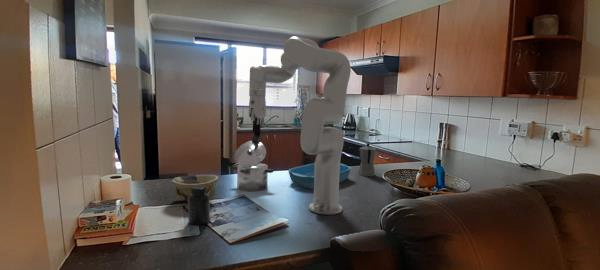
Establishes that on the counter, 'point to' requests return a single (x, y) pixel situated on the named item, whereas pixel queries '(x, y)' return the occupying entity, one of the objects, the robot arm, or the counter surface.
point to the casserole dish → (306, 174)
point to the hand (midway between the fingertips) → (256, 132)
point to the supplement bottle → (198, 206)
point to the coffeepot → (367, 161)
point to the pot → (252, 177)
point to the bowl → (194, 184)
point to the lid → (251, 152)
